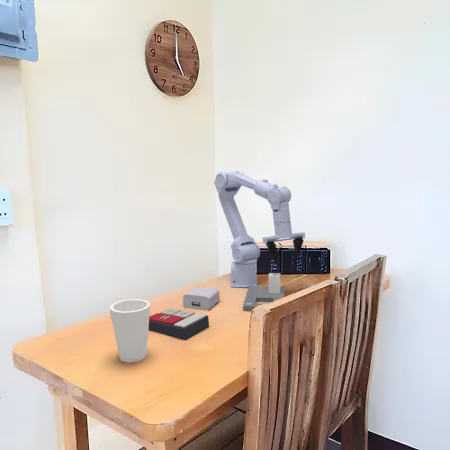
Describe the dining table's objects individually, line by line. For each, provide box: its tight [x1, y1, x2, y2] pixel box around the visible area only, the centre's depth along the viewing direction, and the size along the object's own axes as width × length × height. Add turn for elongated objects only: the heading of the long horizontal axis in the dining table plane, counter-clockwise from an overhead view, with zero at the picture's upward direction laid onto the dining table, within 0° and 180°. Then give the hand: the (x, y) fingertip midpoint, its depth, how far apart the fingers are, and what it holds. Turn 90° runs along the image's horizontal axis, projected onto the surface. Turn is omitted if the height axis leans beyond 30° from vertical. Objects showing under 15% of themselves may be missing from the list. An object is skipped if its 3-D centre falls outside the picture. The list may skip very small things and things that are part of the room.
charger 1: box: [182, 286, 220, 311], centre depth 141 cm, size 5×9×15 cm
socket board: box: [242, 285, 286, 312], centre depth 141 cm, size 13×22×2 cm, turn 172°
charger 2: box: [268, 272, 281, 293], centre depth 145 cm, size 4×4×6 cm
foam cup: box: [109, 298, 151, 364], centre depth 101 cm, size 10×9×13 cm
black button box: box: [148, 307, 210, 341], centre depth 119 cm, size 11×4×15 cm
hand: (286, 261), depth 143 cm, fingers open, 7 cm apart
